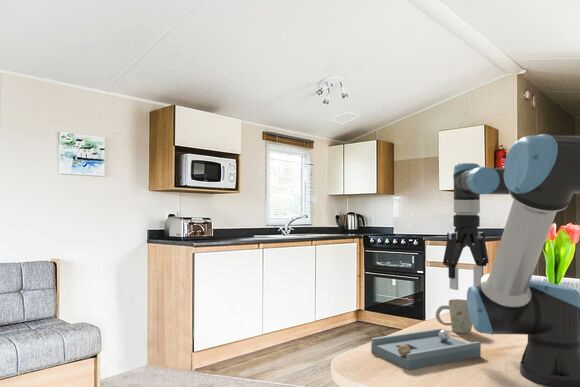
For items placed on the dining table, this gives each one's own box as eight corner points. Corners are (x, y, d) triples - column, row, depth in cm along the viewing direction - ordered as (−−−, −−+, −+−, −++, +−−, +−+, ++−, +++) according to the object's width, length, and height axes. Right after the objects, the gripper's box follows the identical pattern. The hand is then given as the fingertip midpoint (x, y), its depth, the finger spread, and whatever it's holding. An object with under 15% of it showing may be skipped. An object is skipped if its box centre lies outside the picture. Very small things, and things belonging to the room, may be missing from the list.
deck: (480, 356, 133) (480, 342, 133) (408, 370, 122) (409, 354, 122) (439, 341, 148) (439, 328, 148) (371, 352, 136) (371, 338, 136)
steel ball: (451, 342, 138) (452, 331, 138) (443, 343, 137) (443, 332, 137) (443, 339, 141) (443, 328, 141) (435, 340, 140) (435, 329, 140)
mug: (476, 335, 155) (476, 305, 155) (436, 333, 157) (437, 302, 157) (472, 329, 163) (472, 300, 163) (434, 326, 165) (434, 298, 166)
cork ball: (413, 357, 124) (413, 345, 124) (403, 359, 123) (403, 346, 123) (404, 353, 127) (405, 341, 127) (395, 355, 125) (395, 343, 125)
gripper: (482, 214, 152) (481, 283, 152) (430, 213, 142) (429, 288, 142) (501, 214, 146) (501, 287, 145) (449, 214, 136) (448, 292, 135)
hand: (466, 288), depth 143 cm, fingers open, 9 cm apart
